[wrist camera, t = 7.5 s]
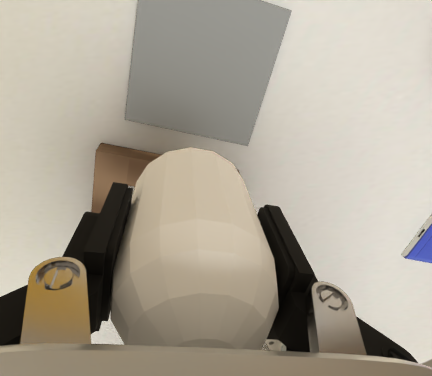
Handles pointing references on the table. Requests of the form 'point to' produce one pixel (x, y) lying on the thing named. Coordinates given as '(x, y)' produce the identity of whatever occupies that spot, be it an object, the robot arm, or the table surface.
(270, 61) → the rubber mat
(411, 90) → the table surface
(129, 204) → the robot arm
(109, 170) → the walnut holder
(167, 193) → the capsule
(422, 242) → the hard drive
